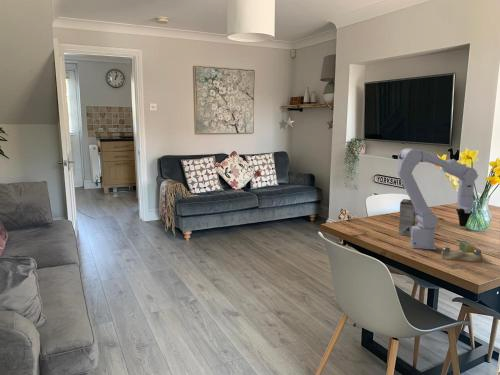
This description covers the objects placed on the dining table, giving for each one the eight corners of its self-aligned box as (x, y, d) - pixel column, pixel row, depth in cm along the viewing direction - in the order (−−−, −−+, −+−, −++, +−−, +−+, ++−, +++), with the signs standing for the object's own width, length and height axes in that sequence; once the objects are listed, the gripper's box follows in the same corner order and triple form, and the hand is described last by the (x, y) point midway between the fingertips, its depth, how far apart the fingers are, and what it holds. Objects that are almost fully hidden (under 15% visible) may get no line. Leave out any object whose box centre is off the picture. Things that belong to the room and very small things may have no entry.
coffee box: (401, 230, 196) (403, 198, 194) (414, 231, 193) (417, 200, 190) (397, 234, 188) (399, 202, 186) (412, 236, 185) (414, 203, 183)
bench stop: (442, 258, 155) (442, 252, 155) (441, 256, 158) (441, 250, 157) (481, 261, 151) (482, 255, 151) (480, 259, 153) (480, 253, 153)
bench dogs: (443, 258, 155) (443, 248, 155) (442, 256, 157) (442, 246, 157) (481, 261, 151) (481, 251, 150) (479, 259, 153) (480, 250, 153)
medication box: (458, 250, 166) (459, 241, 165) (465, 249, 166) (465, 240, 165) (474, 259, 154) (474, 250, 153) (481, 259, 154) (481, 250, 153)
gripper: (480, 198, 158) (477, 231, 160) (471, 192, 171) (469, 222, 173) (460, 197, 160) (458, 229, 162) (454, 191, 173) (451, 221, 175)
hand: (462, 226), depth 168 cm, fingers closed
